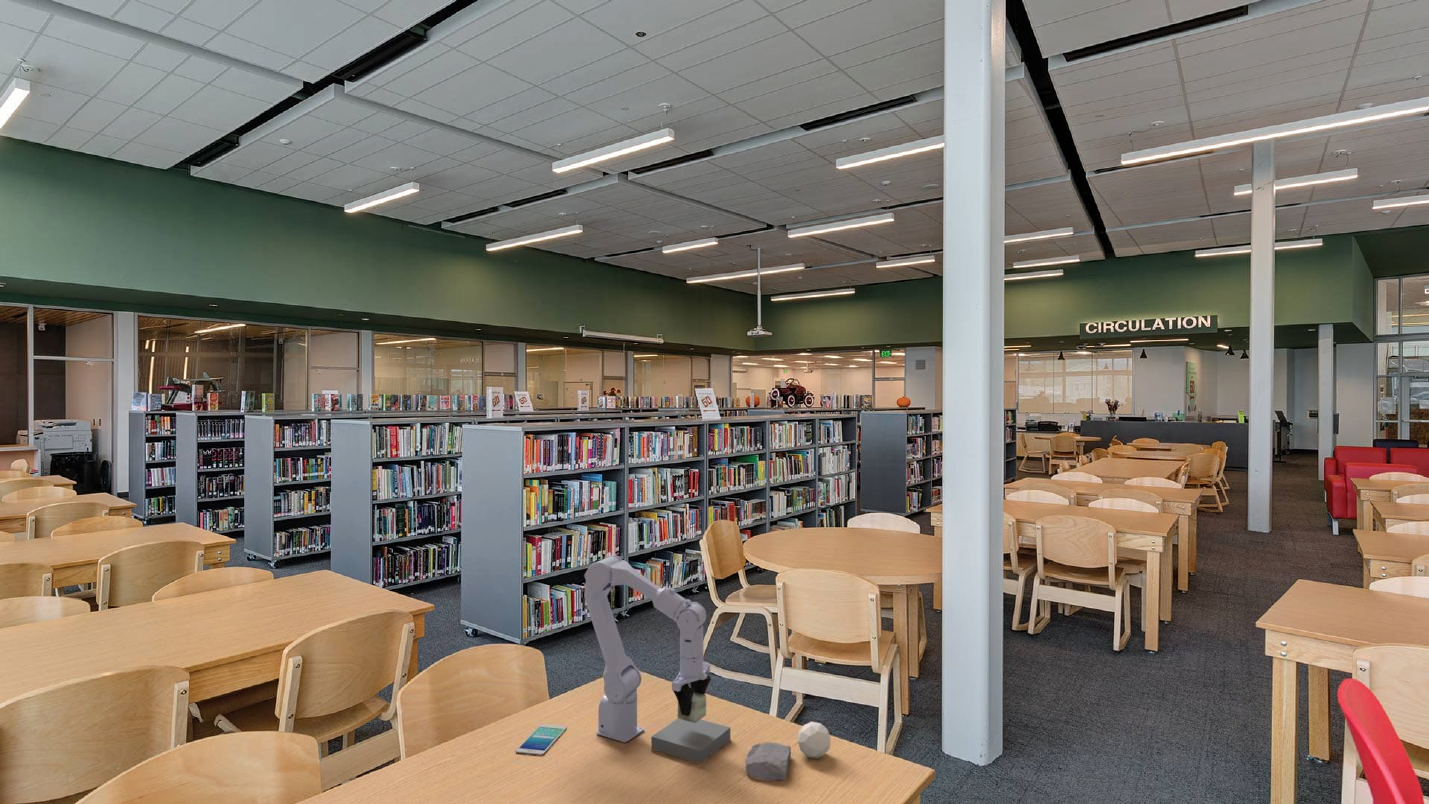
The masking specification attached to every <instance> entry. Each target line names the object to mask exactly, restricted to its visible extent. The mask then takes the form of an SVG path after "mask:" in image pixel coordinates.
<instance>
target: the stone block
mask: <svg viewBox="0 0 1429 804" xmlns="http://www.w3.org/2000/svg"><path fill="white" fill-rule="evenodd" d="M791 751H792V750H791V745H789V744H788V745H786V744H782V743H778V742H771V741H766V742H762V743H761V742H759V743H757V744H754V745H752V746H751V748H750V749H749V751H748V753H747V755H746V758H745V769H746V773H747V775H748V776H749V778H751V779H756V780H762V781H763V780H766V781H769V780H770V781H776V782H777V781H780V782H785V781H786V780H787V776H788V771H789V766H790V761H791V754H792V753H791Z"/></svg>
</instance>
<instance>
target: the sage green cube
mask: <svg viewBox="0 0 1429 804" xmlns="http://www.w3.org/2000/svg"><path fill="white" fill-rule="evenodd" d="M706 716H707V694H705V695H704V694H700V693H696V692H694V694H693V697H692V702H691V712H690V715H689V716H685V715H681V711H680V707H679V703H678V702H677V719H682V720H685V721H689V722H693V723H696V722H698V721H699V720H700V719H701V720H703V719H704V717H706Z"/></svg>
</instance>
